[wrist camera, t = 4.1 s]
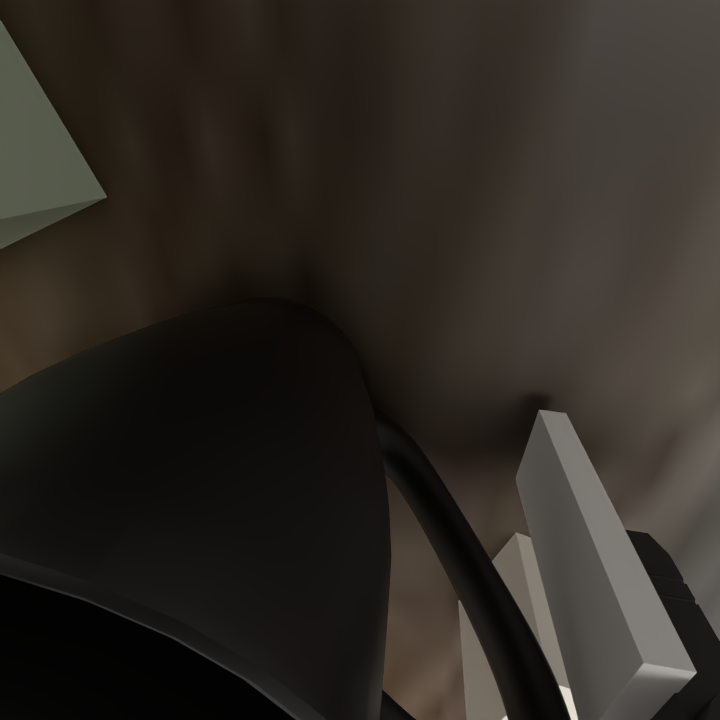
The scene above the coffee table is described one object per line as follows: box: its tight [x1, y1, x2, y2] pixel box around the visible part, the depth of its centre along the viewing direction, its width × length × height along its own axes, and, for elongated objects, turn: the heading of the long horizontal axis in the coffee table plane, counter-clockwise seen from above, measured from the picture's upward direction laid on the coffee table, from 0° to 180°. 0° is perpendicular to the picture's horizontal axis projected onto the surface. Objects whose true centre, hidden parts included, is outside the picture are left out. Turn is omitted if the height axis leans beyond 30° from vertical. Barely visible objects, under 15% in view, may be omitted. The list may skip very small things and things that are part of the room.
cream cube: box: [458, 533, 578, 720], centre depth 15 cm, size 5×5×5 cm
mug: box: [0, 298, 571, 720], centre depth 10 cm, size 8×12×10 cm
